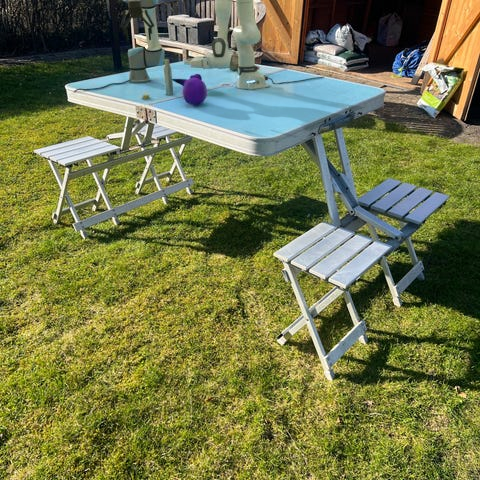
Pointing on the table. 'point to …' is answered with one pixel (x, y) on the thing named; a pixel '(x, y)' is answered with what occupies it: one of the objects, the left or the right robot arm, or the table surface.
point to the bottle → (168, 78)
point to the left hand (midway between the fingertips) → (138, 40)
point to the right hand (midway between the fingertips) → (185, 61)
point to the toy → (193, 89)
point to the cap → (145, 96)
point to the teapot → (234, 62)
